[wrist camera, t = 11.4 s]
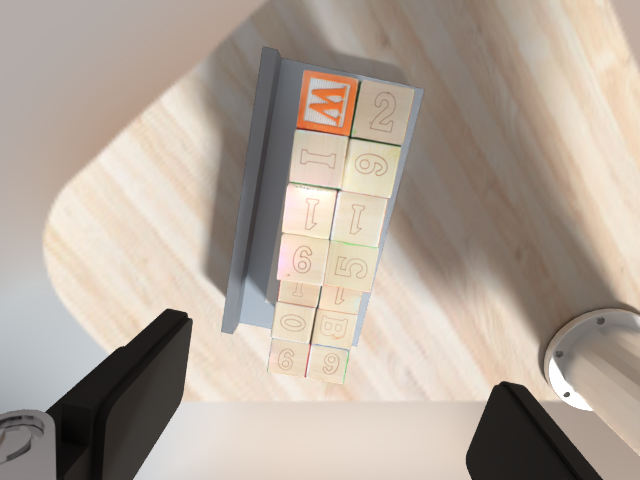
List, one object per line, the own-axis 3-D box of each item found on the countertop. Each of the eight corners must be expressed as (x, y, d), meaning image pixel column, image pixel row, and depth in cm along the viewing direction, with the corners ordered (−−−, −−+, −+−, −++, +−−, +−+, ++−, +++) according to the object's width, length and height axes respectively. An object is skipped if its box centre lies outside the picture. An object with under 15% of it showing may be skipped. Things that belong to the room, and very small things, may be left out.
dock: (416, 95, 32) (432, 83, 27) (354, 332, 39) (358, 359, 33) (273, 64, 32) (262, 46, 27) (236, 307, 38) (221, 331, 33)
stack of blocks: (339, 327, 35) (344, 415, 23) (281, 317, 35) (255, 400, 23) (383, 114, 30) (418, 86, 18) (314, 101, 30) (303, 65, 18)
